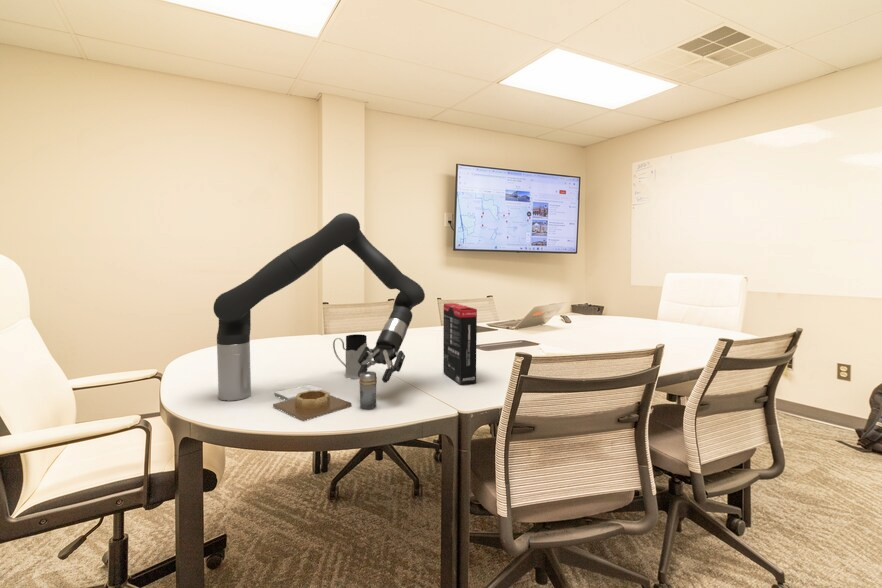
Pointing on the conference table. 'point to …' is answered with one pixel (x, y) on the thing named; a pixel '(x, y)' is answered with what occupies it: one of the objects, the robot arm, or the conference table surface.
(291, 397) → the external hard drive
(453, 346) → the graphics card box
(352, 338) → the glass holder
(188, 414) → the conference table surface
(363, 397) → the cylinder
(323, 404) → the octagon frame base plate
